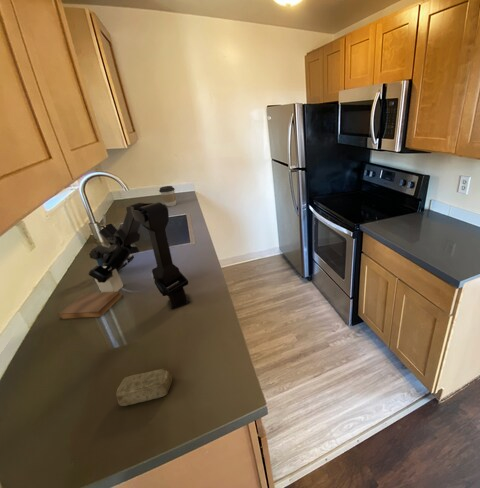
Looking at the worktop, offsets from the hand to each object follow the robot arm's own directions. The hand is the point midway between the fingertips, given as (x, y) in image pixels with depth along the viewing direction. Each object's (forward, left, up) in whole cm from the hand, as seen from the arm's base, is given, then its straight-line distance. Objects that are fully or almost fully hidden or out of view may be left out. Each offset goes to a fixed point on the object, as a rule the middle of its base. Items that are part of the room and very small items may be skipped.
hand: (104, 277), depth 114 cm
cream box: (-1, -1, -6) cm, 6 cm away
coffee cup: (+121, -46, -6) cm, 129 cm away
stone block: (-66, -7, -6) cm, 67 cm away
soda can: (+17, -2, -6) cm, 18 cm away
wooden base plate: (-10, +5, -6) cm, 13 cm away
